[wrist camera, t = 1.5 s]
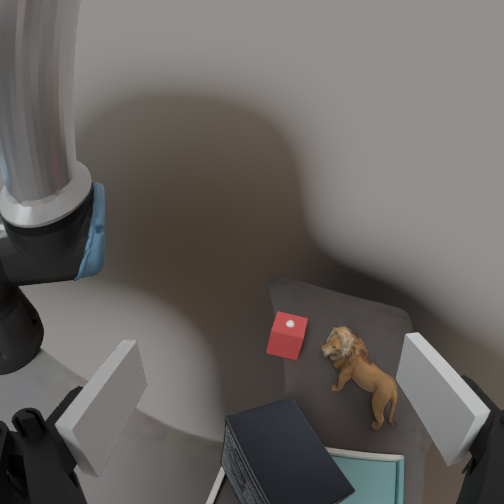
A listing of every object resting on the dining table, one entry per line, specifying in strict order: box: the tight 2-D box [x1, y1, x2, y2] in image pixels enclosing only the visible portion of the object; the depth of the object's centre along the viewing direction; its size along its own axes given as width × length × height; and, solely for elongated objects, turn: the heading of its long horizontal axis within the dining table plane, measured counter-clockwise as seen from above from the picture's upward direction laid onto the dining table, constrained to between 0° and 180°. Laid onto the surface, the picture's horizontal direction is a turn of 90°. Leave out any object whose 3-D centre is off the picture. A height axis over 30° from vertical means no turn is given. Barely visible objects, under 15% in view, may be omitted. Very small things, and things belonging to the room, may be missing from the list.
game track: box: [206, 447, 404, 504], centre depth 22 cm, size 21×14×1 cm
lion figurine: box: [322, 327, 397, 430], centre depth 33 cm, size 15×5×9 cm, turn 40°
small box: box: [220, 398, 356, 504], centre depth 20 cm, size 11×6×10 cm, turn 23°
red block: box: [267, 311, 308, 360], centre depth 42 cm, size 4×4×5 cm
